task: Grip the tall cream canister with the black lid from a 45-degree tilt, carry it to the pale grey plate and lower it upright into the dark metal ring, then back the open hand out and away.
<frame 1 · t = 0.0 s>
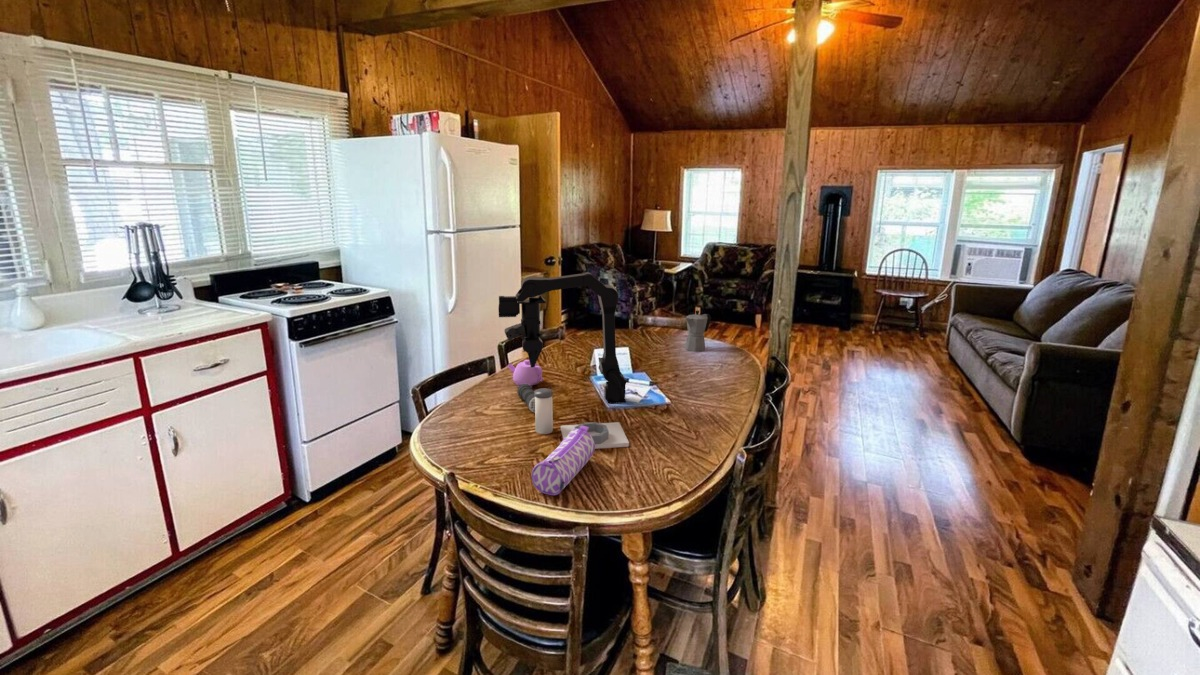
hand: (531, 362, 180), 15 cm above the table, fingers open, 9 cm apart
flashlight: (530, 405, 184), on the table
teapot: (525, 384, 203), on the table
socket plate: (593, 437, 160), on the table
canister: (544, 430, 165), on the table
coffeepot: (696, 349, 250), on the table
pencil case: (564, 477, 139), on the table
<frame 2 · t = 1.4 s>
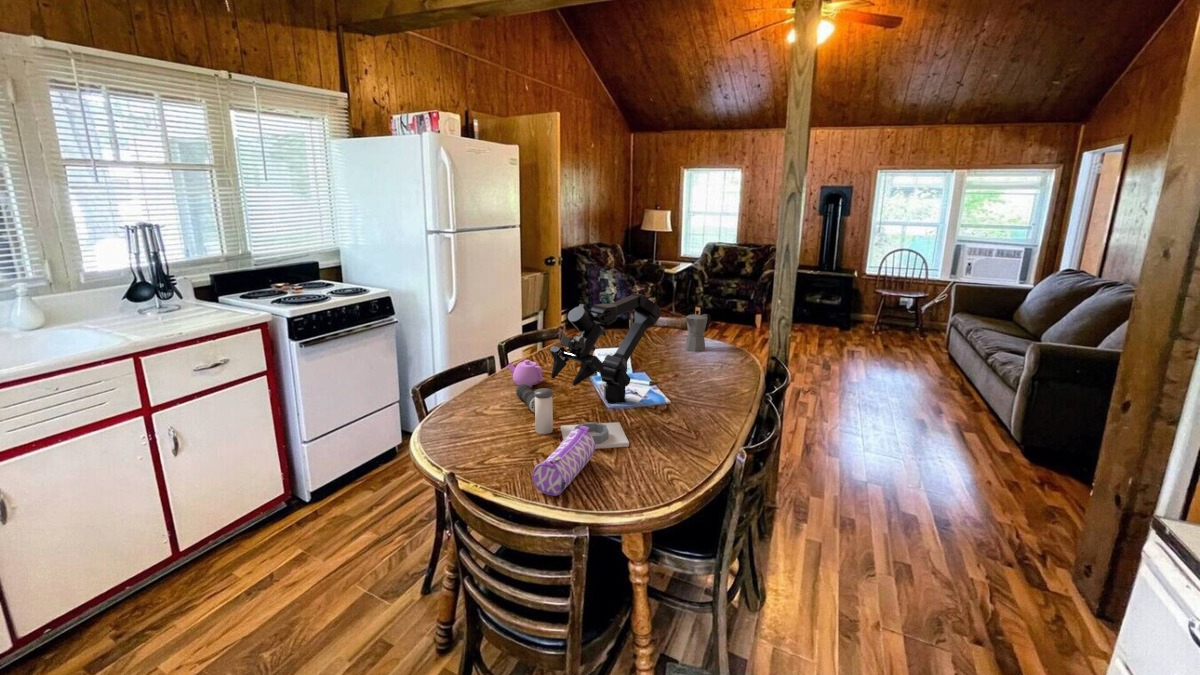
hand: (562, 381, 167), 13 cm above the table, fingers open, 9 cm apart
nothing on the table moved.
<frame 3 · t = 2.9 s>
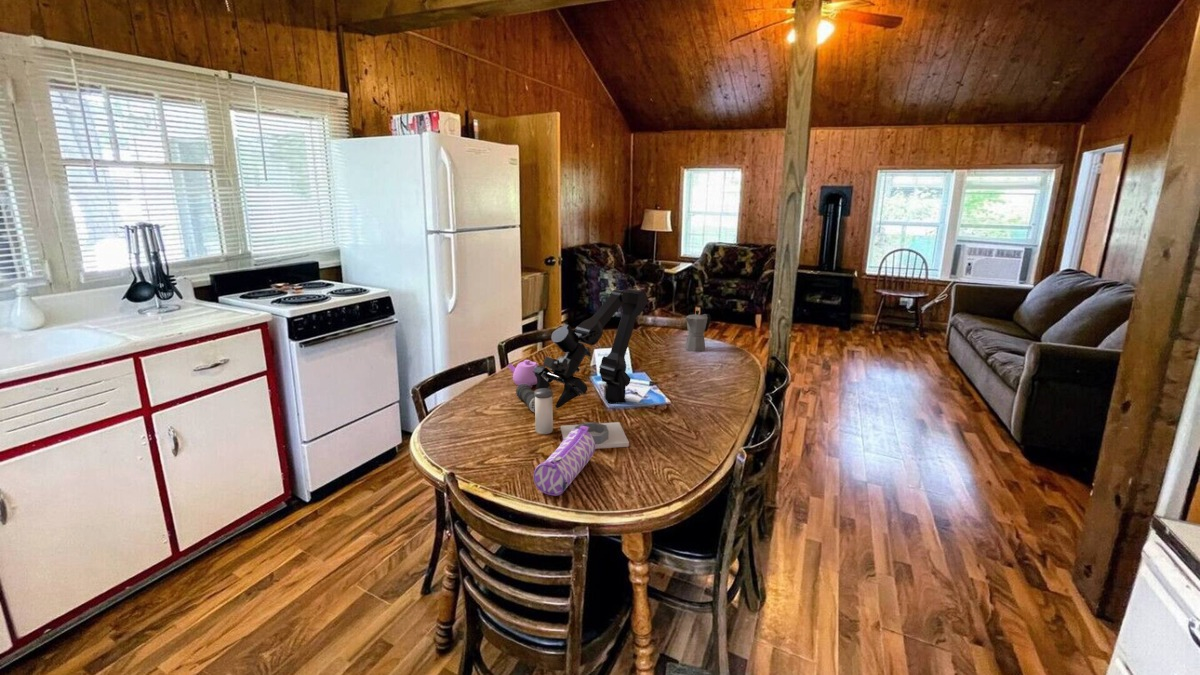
hand: (545, 403, 163), 8 cm above the table, fingers open, 9 cm apart
nothing on the table moved.
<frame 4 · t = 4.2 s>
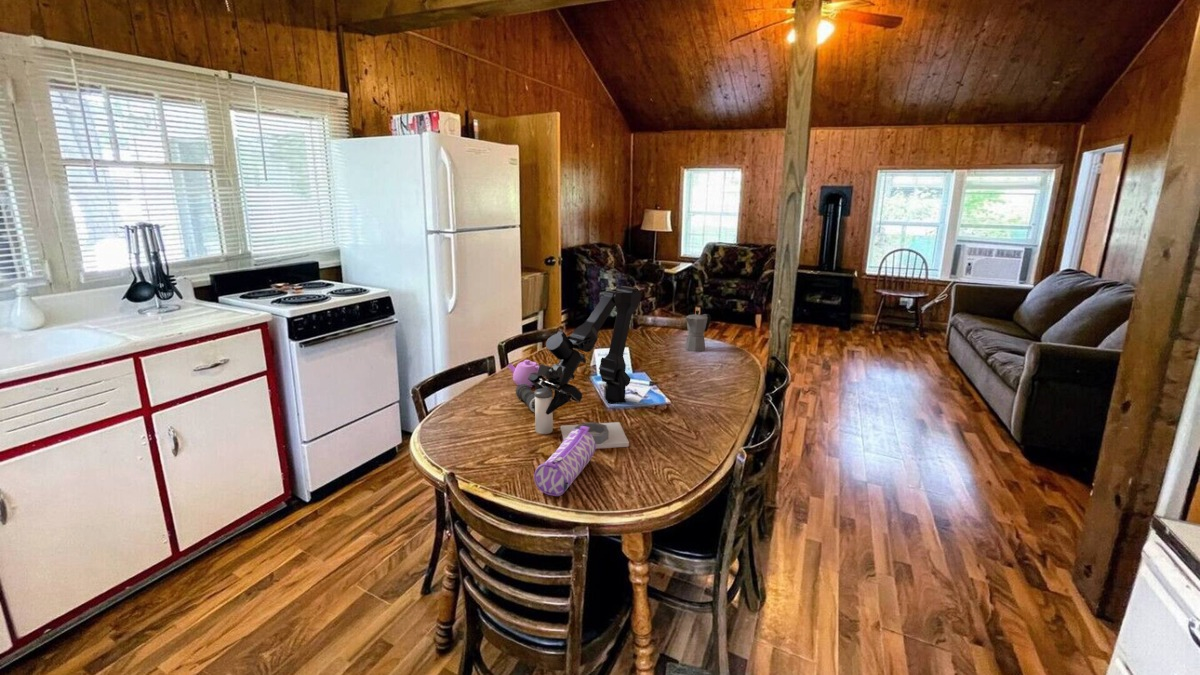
hand: (540, 411, 162), 7 cm above the table, fingers closed on canister, 5 cm apart
canister: (544, 430, 165), on the table, touching gripper
everything else where it was.
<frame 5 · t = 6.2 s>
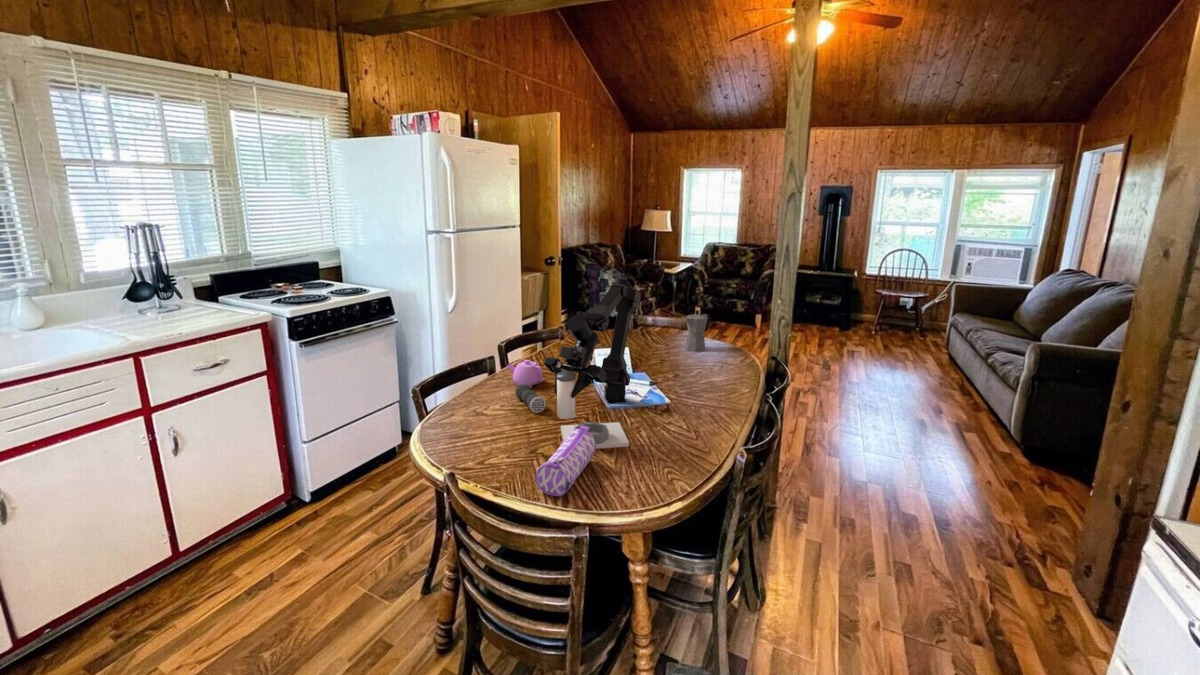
hand: (563, 395, 156), 13 cm above the table, fingers closed on canister, 5 cm apart
canister: (566, 415, 159), point 7 cm above the table, touching gripper
everything else where it was.
when the fingers open (9 cm above the table, at t = 8.2 s): canister drops 1 cm, resting on socket plate.
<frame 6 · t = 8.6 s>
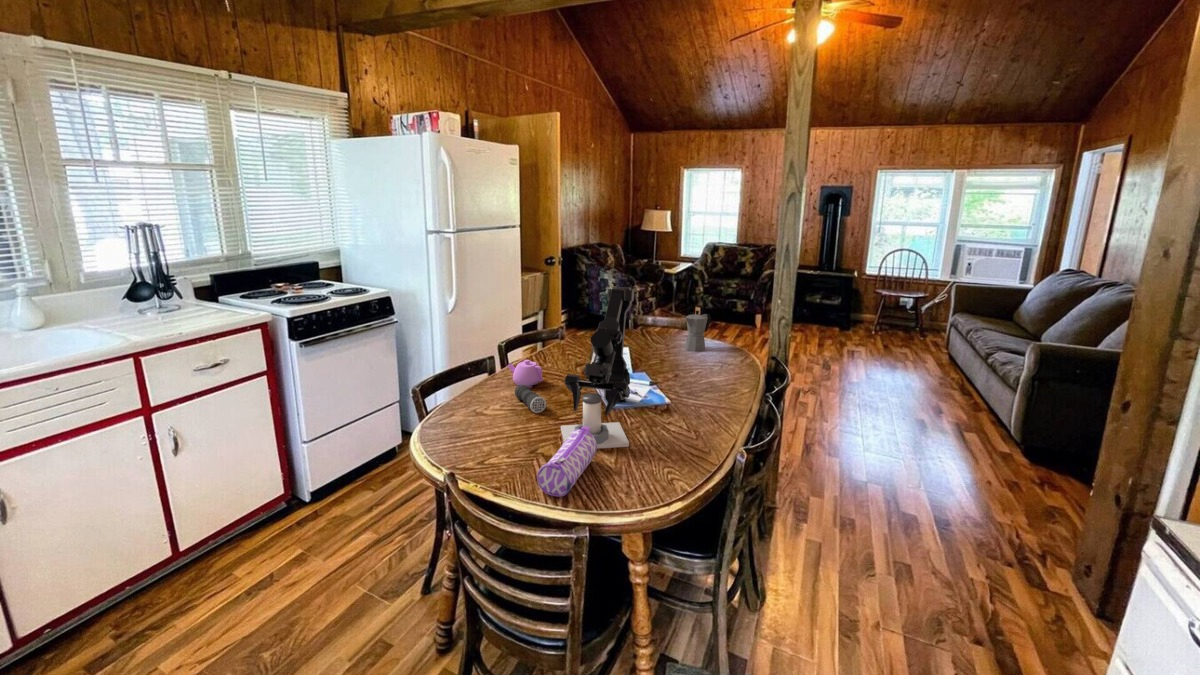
hand: (590, 413, 154), 9 cm above the table, fingers open, 9 cm apart
canister: (591, 437, 158), point 1 cm above the table, touching socket plate
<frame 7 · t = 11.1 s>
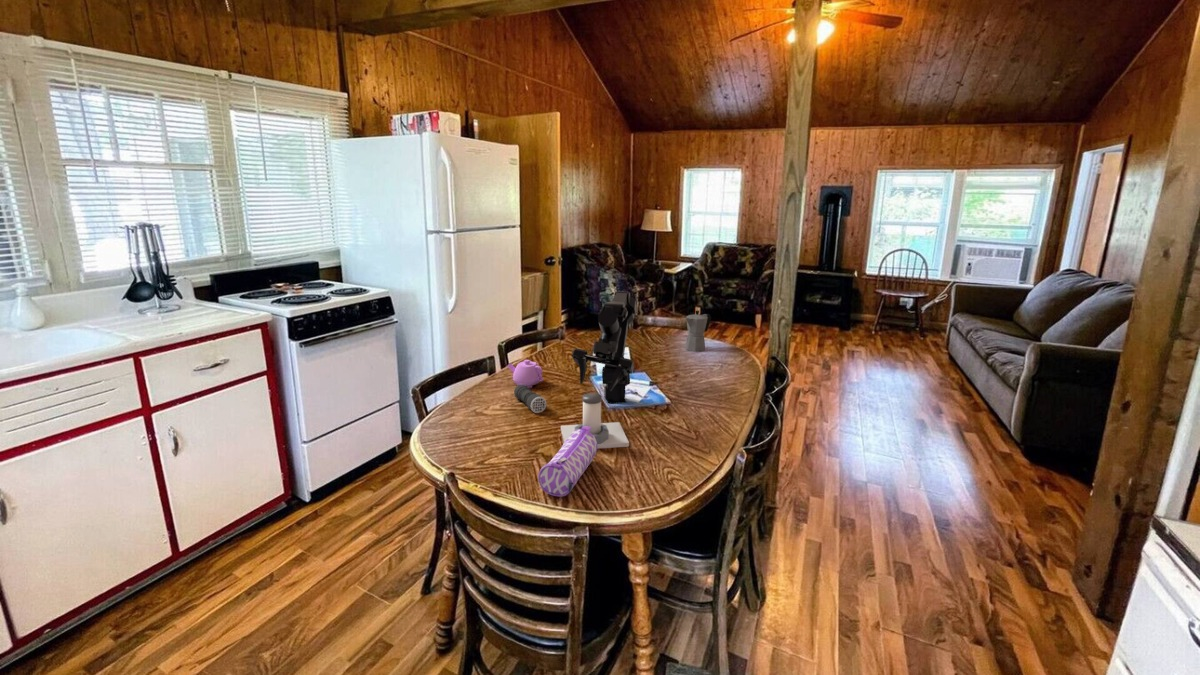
hand: (595, 387, 164), 13 cm above the table, fingers open, 9 cm apart
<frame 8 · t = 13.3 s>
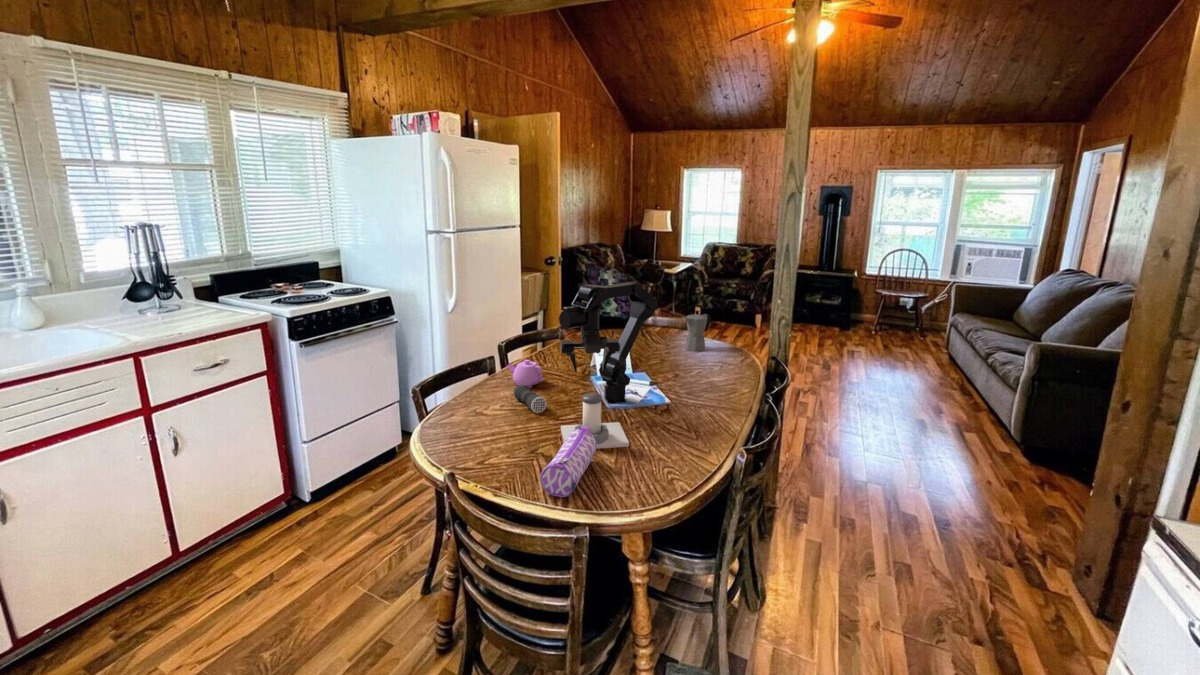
hand: (589, 371, 178), 13 cm above the table, fingers open, 9 cm apart
at the end: canister 0.1 cm from the target spot on the socket plate, point 1.2 cm above the socket plate's base; canister tilted 0°; the gripper is holding nothing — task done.
